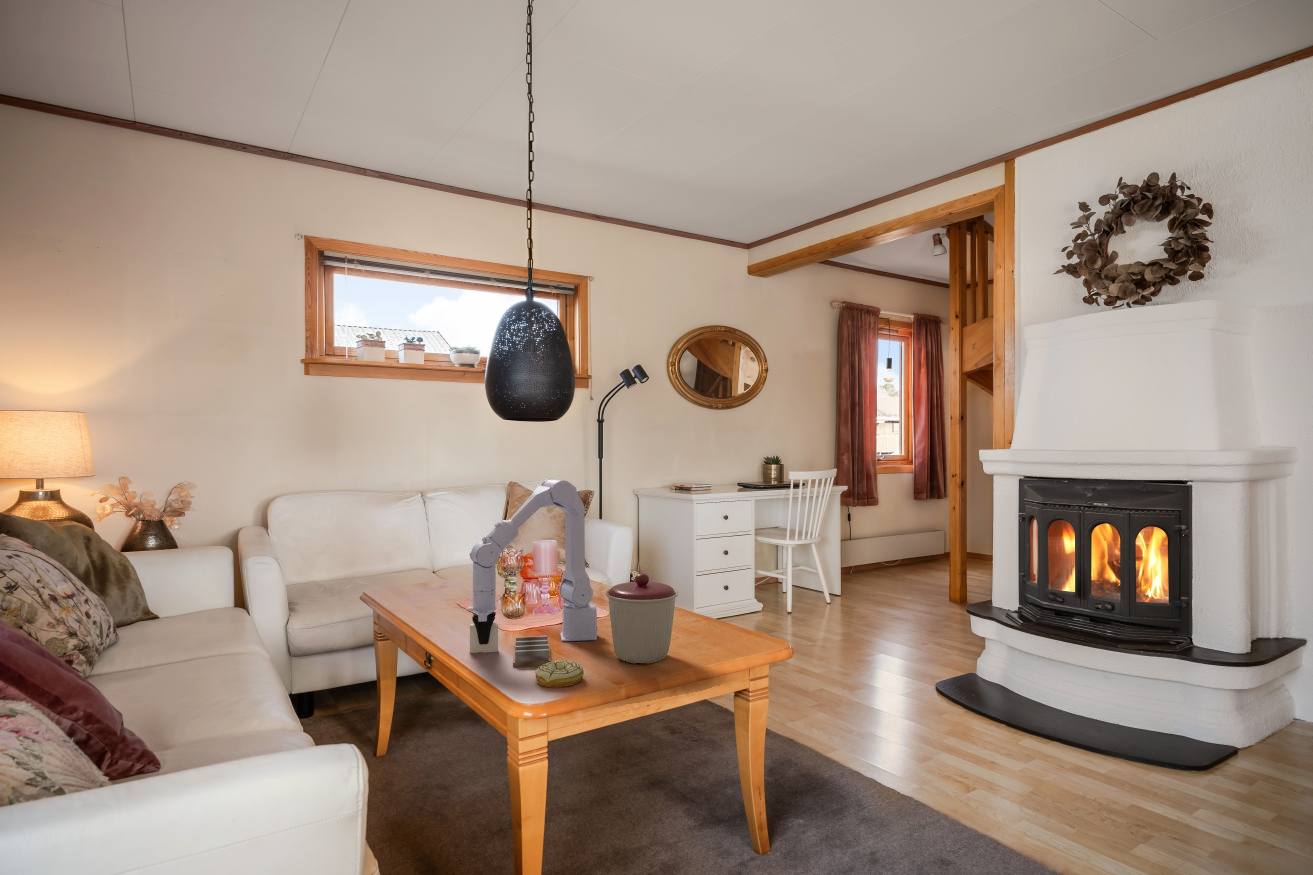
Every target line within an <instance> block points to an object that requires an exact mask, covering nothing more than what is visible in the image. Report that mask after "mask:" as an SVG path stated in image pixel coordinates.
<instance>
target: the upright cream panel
mask: <svg viewBox="0 0 1313 875" xmlns="http://www.w3.org/2000/svg"><path fill="white" fill-rule="evenodd" d="M477 652H483V653H498V652H499V622H493V624H492V626H491V630H490V637H489V642H488V644H481V645H480V644H479V640H478V634H477V630H476V627H475V625H474V623H470V624H469V654H478V653H477Z"/></svg>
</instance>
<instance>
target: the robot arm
mask: <svg viewBox="0 0 1313 875" xmlns="http://www.w3.org/2000/svg"><path fill="white" fill-rule="evenodd" d="M551 506H552V507H553V506H556V507H557V508H558V509H560V510H561V511H562V512H563V513H564V543H565V544H564V547H565V548H564V550H565V553H564V554H565V555H564V556H565V560H564V562H565V563H564V565H565V570H564V571H563V573H562V575H561V582H560V584H559V587H558V591H559V592H558V593H559V596H560V597H561V598H562V631H561V632H560V634H559V635H560V640H561V642H579V641H597V639H598V637H597V636H598V634H597V632H598V617H597V615H598V614H597V613H598V612H597V605H596V604H590V603H591V601H592V600H593V595H594V591H593V589H592V585H591V583H590V582H591V581H590V580H591V579H590V577H589V575H588V573H587V571H586V555H585V554H586V552H585V551H586V548H585V546H586V544H585V542H586V541H585V532H586V531H585V505H584V502H583V501H582V499H581V497H580V495H579V494H578V492H577V486H575V485H574V484H572V483H571V482H569V481H568V480H562V479H561V480H559V479H555V478H547V479H545V480H544V481H543V482H541V483H540V485H538V486H536V487H535V489H534V491H533V492H532V493H531V495H530V496H529V497H528V498H527V499H526V500H525V501H524V502H523V503H522V505H520V507H519V508H518V509H517V510H516V511H515V512H514V514H513V515H512V516H511V517H510V518H509V519H506V520H505V519H503V520H501V521H500V522H499V521H497V522H496V523H494V528H493V529H492V530H491V531H490V532H489V533H488V534H487V535H486V536H483V537H482V538H481V542H477V543H475V544H474V545H473V546H472V548H471V551H470V553H469V558H470V560H471V562H473V565H472V569H473V570H472V606H468V607H467V611H469V612H473V613H474V614H473V616H472V617H471V620H472V622H473V623H472V624H474V625H475V627H476V630H477V634H478V640H479V644H480V645H481V644H488V642H489V637H490V630H491V626H492V624H493V623H495V622H494V621H495V619H496V614H497V613H496V611H497V604H496V603H497V601H496V600H497V594H496V593H497V590H496V588H497V586H496V585H497V581H496V580H497V577H496V574H497V573H496V572H497V571H496V564H497V563H499V560H500V555H501V553H502V552H504V550H506V549H507V547H508V546H509V545H511V544H512V542H513V541H514V540H516V538H518V536H519V529H520V528H521V526H523V525H524V524H525V523H526V522H527V521H528V520H529V519H530V518H531V517H532V516H534V514H536V512H537V511H539V510H540V509H541V508H546V507H551Z"/></svg>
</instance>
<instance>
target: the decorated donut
mask: <svg viewBox="0 0 1313 875" xmlns="http://www.w3.org/2000/svg"><path fill="white" fill-rule="evenodd" d="M584 672H585V669H584V667H583V665H582V664H580V663H578V662H576V661H574V660H573V661H572V660H567V659H564V660H563V659H560V660H559V659H558V660H553V661H552V660H551V662H548V663H545V664H543V665H541V666H538V668H536V670H535V672H534V673H535V679H536V682H537V684H538V685H539V686H540V685H541V686H540V687H544V686H545V687H544V688H546V687H547V688H555V687H558V688H565V687H569V686H573V685H577V683H580V681H581V680H582V679H583V676H584V674H585V673H584Z"/></svg>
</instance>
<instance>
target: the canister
mask: <svg viewBox="0 0 1313 875" xmlns="http://www.w3.org/2000/svg"><path fill="white" fill-rule="evenodd" d="M678 595H679V591H678V590H677V589H675V588H673V587H672V586H670V585H669V584H665V583H662V582H657V581H656V582H655V581H650V576H649V575H648V574H646V573H638V574H636V575H635V577H634V581H630V582H622V583H617V584H616V585H613V586H612V587H611V588H609V589H607V590H606V592H605V596H606V597H607V598H608V599H607V600H608V607H609V609H608V610H609V618H610V628H611V636H612V643H613V650H614V652H615V655H616V656H617V658H618V659H619V660H621V661H622V662H625V661H626V663H629V664H636V663H647V664H653V663H652V662H654V663H657V662H656V661H658V662H660V661H662V660H664V659H665V658H666V657H667V655H668V653H669V651H670V647H671V640H672V633H673V625H674V614H675V608H676V607H675V606H676V605H675V604H676V598H677V597H678ZM663 658H664V659H663Z"/></svg>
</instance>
